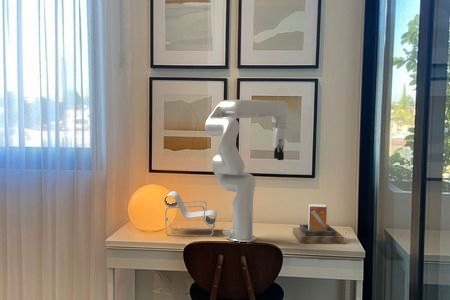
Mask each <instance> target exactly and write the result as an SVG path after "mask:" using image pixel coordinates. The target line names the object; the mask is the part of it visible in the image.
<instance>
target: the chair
mask: <svg viewBox="0 0 450 300" xmlns="http://www.w3.org/2000/svg"><path fill="white" fill-rule="evenodd" d="M168 196H169V197H172V198H173V199H174V200H175V201H174V202H175V203H172V204H169V203H167V201H166V198H167V197H168ZM187 203H189V204H190V203H204V204H205V206H203V205H189V206H185V205H184V204H187ZM164 204H165V205H166V207H167V208H165V210H164V211H165V212H164V218H165V219H164V222H165V225H164V226H165V234H166V235H167V236H173V237H175V236H179V237H180V236H182V237H183V236H185V237H186V236H190V237H212V236H213V235H214V232H215V231H214V228H215V227H216V225H215V223H216V222H217V221H216V220H217V215H218V213H217V211H215V210H213V209H207V206H208V203H207V202H206V201H205V200H195V201H193V200H192V201H183V200H182V197H181V196H180V195H179V193H178V192H177V191H174V190H173V191H170V192H169V193H168V194H167V195H166V196H165V198H164ZM177 205H178V206H177ZM169 208H170V209H179V210H180V212H181V214H182V216H183V218H185V219H192V218H193V219H194V218H201V217H203V222H204V223H205V224H206V225H207V226H208V227H209V228H208V230H211V233H210V234H177V233H175V234H174V233H173V234H170V233H168V229H167V222H168V220H169V219H168V217H167V211H168V210H169ZM187 208H202V209H203V210H201V211H188V210H187ZM211 226H212V227H211ZM169 228H170V229H171V230H206V228H204V227H203V228H201V227H200V228H199V227H198V228H197V227H195V228H193V227H192V228H191V227H172V224H171V223H170V222H169Z"/></svg>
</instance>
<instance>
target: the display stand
mask: <svg viewBox="0 0 450 300" xmlns="http://www.w3.org/2000/svg"><path fill="white" fill-rule="evenodd" d="M292 234H293V236H294V237H295V239H296V240H297V241H298V243H300V244H345V243H344V241H345V240H344V239H345V237H344V235H342V234H341V233H340V232H338V231H337V230H336V229H335V228H334V227H331V225H329V224H326V231H308V224H299V227H292Z"/></svg>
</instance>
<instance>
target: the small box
mask: <svg viewBox="0 0 450 300" xmlns="http://www.w3.org/2000/svg"><path fill="white" fill-rule="evenodd" d="M327 208H328V207H327V205H326V204H320V203H319V204H317V203H314V204H313V203H312V204H311V203H308V217H307V219H308V220H307V225H308V231H326V225H327V214H328V213H327V210H328V209H327Z"/></svg>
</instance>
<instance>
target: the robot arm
mask: <svg viewBox="0 0 450 300" xmlns="http://www.w3.org/2000/svg"><path fill="white" fill-rule="evenodd" d="M265 117H271V129H272V130H273V131H272V132H273V133H272V148H274V150H273V152H274V153H273V158H274V159H276V161H284V160H285V159H284V154H285V153H284V152H285V151H284V148H285V143H286V141H285V138H286V136H285V135H286V133H285V132H286V131H285V130H287V128H288V127H287V126H288V102H286V101H284V100H268V99H267V100H264V99H224V100H222V101H220V102H219V103H218V104H217V105H216V106H215V108H214V109H213V111H212V112H211V114H210V115H209V116H208V118H207V119H206V121H205V123H204V130H205V132H206V134H207V135H209V136H210V137H211V136H212V137H220V140H219V142H218V145H217V152H218V154H216V155H215V156H214V157H213V158H212V160H211V169H212V171H213V174H214V176H215V177H216V179H217V181H218V184H219V185H220V187H221V188H222V189H223V190H225V191H227V192H234V193H236V194H235V196H234V198H233V200H232V228H231V229H229V230H222V235H223V236H225V237H226V236H227V237H228V236H229V237H228V240H230V241H231V242H234V241H239V242H238V243H240V242H247V243H253V242H255V241H257V237H256V235H254V234H253V232H254V231H253V229H254V228H253V225H254V223H253V222H254V196H255V195H254V194H255V191H256V190H255V188H256V183H257V181H256V179H255V176H254V175H253V174H251V173H248V172H244V171H245V168H246V166H245V163H244V160H243V157H242V156H241V154H240V152H239V149H238V147H237V144H236V143H237V137H238V134H239V132H240V123H239V121H238V120H237V119H249V118H251V119H253V118H254V119H255V118H265Z"/></svg>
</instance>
